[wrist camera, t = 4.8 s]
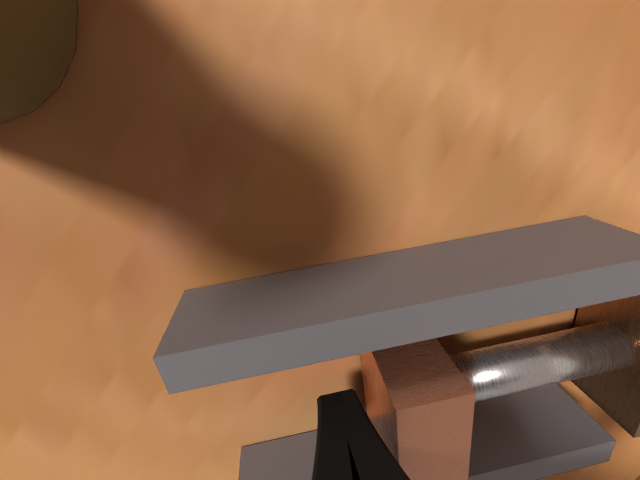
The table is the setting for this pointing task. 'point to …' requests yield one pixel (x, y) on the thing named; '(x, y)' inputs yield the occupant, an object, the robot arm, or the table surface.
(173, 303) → the table surface
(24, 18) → the cork
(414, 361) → the ram
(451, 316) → the track
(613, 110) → the table surface
